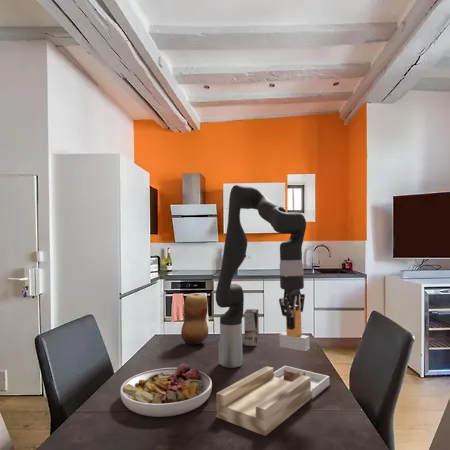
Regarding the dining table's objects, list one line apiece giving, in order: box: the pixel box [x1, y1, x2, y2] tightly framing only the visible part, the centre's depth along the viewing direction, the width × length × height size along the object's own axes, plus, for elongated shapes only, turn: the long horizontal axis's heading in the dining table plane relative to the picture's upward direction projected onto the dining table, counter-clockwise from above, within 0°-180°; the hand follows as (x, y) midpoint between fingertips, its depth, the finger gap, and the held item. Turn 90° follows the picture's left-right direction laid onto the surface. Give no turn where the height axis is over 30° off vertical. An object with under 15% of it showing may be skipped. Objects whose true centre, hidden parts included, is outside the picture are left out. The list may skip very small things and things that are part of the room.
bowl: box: [120, 362, 213, 418], centre depth 121 cm, size 30×30×8 cm
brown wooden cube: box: [283, 370, 300, 381], centre depth 126 cm, size 4×4×4 cm
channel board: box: [215, 366, 312, 437], centre depth 113 cm, size 17×28×7 cm, turn 142°
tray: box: [274, 365, 330, 399], centre depth 130 cm, size 18×14×3 cm
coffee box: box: [243, 308, 260, 347], centre depth 182 cm, size 9×6×16 cm
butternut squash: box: [180, 292, 209, 345], centre depth 182 cm, size 14×13×25 cm
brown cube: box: [294, 370, 305, 376], centre depth 130 cm, size 4×4×4 cm
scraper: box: [278, 309, 311, 352], centre depth 116 cm, size 9×4×12 cm, turn 52°
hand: (293, 327), depth 116 cm, fingers closed on scraper, 3 cm apart
